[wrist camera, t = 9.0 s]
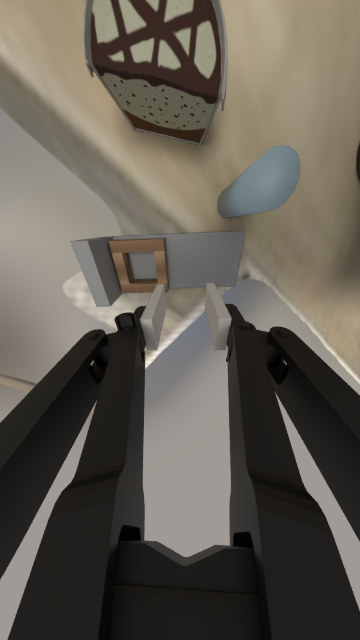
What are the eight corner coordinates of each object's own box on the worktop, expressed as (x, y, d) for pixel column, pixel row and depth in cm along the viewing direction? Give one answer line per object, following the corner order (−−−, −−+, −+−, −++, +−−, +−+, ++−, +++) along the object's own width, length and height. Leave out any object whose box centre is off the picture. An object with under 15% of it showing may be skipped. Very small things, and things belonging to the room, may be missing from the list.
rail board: (102, 236, 27) (70, 241, 19) (243, 230, 26) (267, 232, 18) (117, 287, 32) (96, 306, 25) (233, 284, 31) (249, 303, 24)
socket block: (115, 239, 26) (108, 241, 23) (165, 237, 26) (163, 239, 23) (127, 287, 31) (122, 292, 28) (169, 286, 30) (167, 291, 28)
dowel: (218, 187, 23) (254, 147, 11) (244, 185, 22) (309, 143, 11) (216, 218, 25) (243, 212, 13) (239, 217, 25) (289, 210, 13)
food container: (225, 71, 17) (264, -77, 9) (210, 148, 20) (228, 94, 12) (120, 42, 16) (51, -152, 8) (123, 127, 20) (77, 53, 11)
